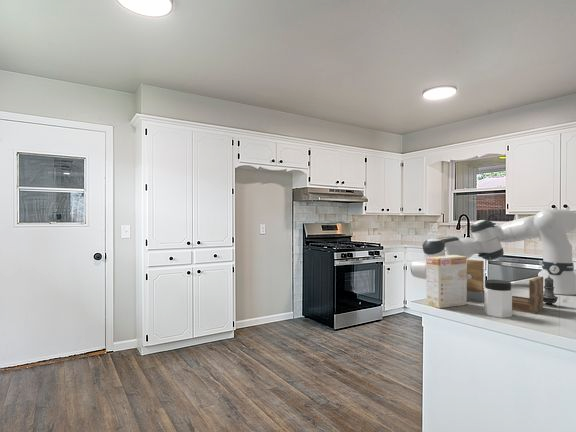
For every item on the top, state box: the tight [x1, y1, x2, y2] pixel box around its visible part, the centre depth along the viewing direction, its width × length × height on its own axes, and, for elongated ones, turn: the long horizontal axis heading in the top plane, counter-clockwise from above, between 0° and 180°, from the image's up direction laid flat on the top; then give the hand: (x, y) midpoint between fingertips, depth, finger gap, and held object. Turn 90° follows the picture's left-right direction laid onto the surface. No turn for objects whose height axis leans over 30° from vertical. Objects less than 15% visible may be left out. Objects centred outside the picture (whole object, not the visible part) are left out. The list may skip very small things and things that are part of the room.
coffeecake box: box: [426, 254, 468, 309], centre depth 146 cm, size 15×7×20 cm, turn 113°
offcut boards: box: [512, 298, 529, 304], centre depth 141 cm, size 3×10×4 cm, turn 42°
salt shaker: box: [543, 276, 559, 308], centre depth 145 cm, size 6×6×12 cm
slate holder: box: [467, 290, 484, 303], centre depth 157 cm, size 8×10×4 cm
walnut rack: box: [512, 276, 544, 314], centre depth 142 cm, size 13×13×12 cm
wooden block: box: [467, 259, 485, 298], centre depth 157 cm, size 2×6×16 cm, turn 42°
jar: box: [483, 279, 513, 319], centre depth 131 cm, size 9×8×12 cm
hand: (476, 275), depth 156 cm, fingers open, 8 cm apart
